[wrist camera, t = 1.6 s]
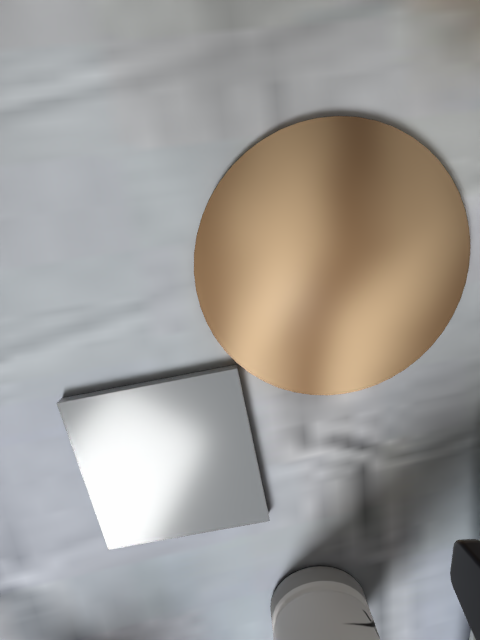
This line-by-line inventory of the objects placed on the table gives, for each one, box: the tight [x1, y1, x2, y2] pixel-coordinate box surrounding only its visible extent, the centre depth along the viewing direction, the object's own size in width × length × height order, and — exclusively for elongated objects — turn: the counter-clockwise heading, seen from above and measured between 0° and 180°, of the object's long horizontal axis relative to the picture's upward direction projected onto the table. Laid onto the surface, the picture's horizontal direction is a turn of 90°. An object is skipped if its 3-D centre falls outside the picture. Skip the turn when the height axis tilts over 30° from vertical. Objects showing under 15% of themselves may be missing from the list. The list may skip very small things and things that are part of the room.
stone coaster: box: [57, 365, 270, 550], centre depth 21 cm, size 10×10×1 cm
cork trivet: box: [194, 116, 470, 395], centre depth 19 cm, size 14×14×1 cm
